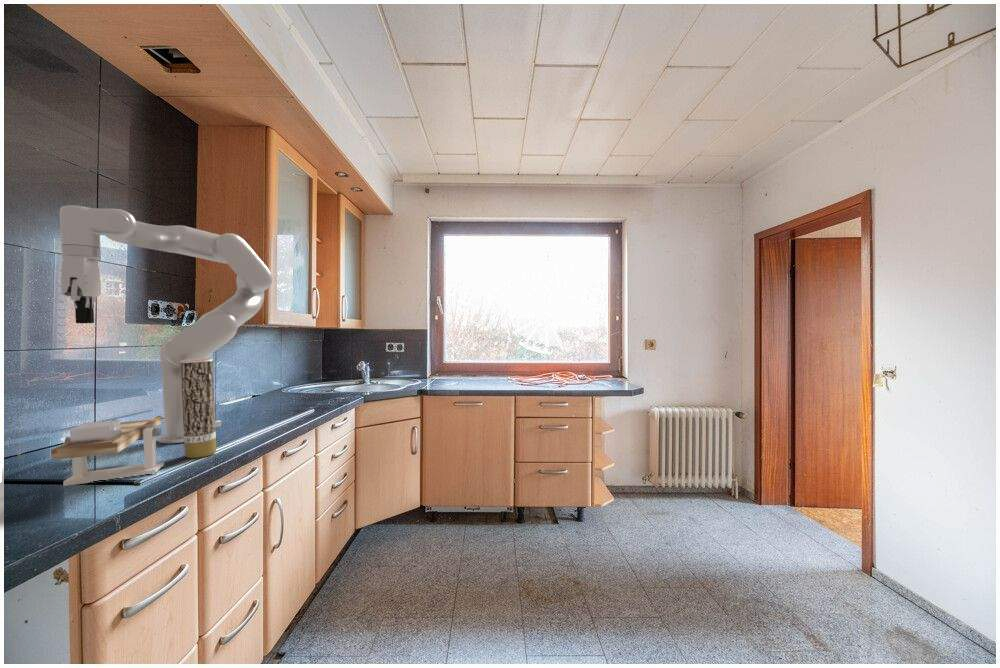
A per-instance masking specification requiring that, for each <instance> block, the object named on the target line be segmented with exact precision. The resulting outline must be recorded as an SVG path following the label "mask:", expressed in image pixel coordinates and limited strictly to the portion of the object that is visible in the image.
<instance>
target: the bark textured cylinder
mask: <svg viewBox="0 0 1000 668" xmlns="http://www.w3.org/2000/svg"><path fill="white" fill-rule="evenodd" d="M214 381H215V380H214V361H213V358H212V357H211V358H209V357H206V358H203V359H187V360H181V382H182V405H183V428H184V442H183V445H184V448H183V449H184V457H186V458H187V459H201V458H205V457H210V456H212V455H214V454H215V453H216V452H217V432H216V431H217V430H216V427H215V421H216V409H215V408H216V407H215V385H214Z"/></svg>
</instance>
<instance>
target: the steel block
mask: <svg viewBox="0 0 1000 668" xmlns="http://www.w3.org/2000/svg"><path fill="white" fill-rule="evenodd" d="M114 420H115V421H111V420H106V421H96V422H95V421H93V422H83V423H82V424H79V425H77V426H75V427H72V428H71V429H69V434H70V435H69V437H70V439H71V445H76V444H86V443H95V442H105V441H114V442H116V441H117V440H119V439H120V438H121V422H122V421H121V419H118V420H117V419H114Z"/></svg>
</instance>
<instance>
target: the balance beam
mask: <svg viewBox="0 0 1000 668" xmlns="http://www.w3.org/2000/svg"><path fill="white" fill-rule="evenodd" d="M115 420H116V419H112V420H110V421H115ZM161 424H162V415H157V416H155V417H153V418H152V419H143V420H142V419H141V420H133V421H131V420H130V421H121V438H120V439H119V440H117V441H116V442H114V441H105V442H95V443H86V444H76V445H71V440H70V441H68V442H66V443H65V442H64V443H63V444H61V445H58V446H57V447H55V448H53V449H51V450H50V451H51V452H50V453H51V461H57V460H65V459H72V458H76V457H85V456H87V457H93V456H94V457H95V456H102V455H103V456H104V455H111V454H119V453H120V452H122V451H123V450H124V449H125V448H127V447H128V446H130V445H132V444H133V443H134V442H137V441H143V430H144V429H146V428H151V427H155V428H158V426H160V425H161Z"/></svg>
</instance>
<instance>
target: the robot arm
mask: <svg viewBox="0 0 1000 668" xmlns="http://www.w3.org/2000/svg"><path fill="white" fill-rule="evenodd" d="M59 226H60V227H59V230H60V246H61V247H60V248H61V250H60V251H61V259H62V260H61V261H62V263H61V270H60V271H61V275H60V276H61V277H60V283H61V284H60V287H61V288H60V291H61V294H62V295H63V296H66V297H70V300H71V301H73V305H74V312H75V314H74V315H75V323H76V324H94V323H95V312H94V311H95V310H94V308H95V302H97V298H98V297H100V296H101V295H102V294H101V293H102V282H101V275H100V274H101V273H100V267H99V262H101V261H102V255H101V254H102V251H101V235H104V236H105V237H106V238H107V239H109V240H111V241H113V242H116V243H121V244H125V245H129V246H133V247H138V248H143V249H149V250H154V251H161V252H166V253H173V254H179V255H184V256H188V257H193V258H199V259H203V260H207V261H210V262H216V263H219V264H227V265H228V266H229V267H230V268H231V270H232V271H233V272H234V273H235V274H236V277H235V282H236V291H235V294H233V296H231V297H230V298H228V299H227V300H226V301H224V302H223V303H222V304H219V305H218V306H217V307H215V308H214V309H212V310H210V311H207V312H206V313H204V314H202V315H201V316H200V317H199V318H198V320H196V321H195V322H194V323H192V324H190V325H189V326H188V327H186V328H185V329H183V330H181V331H180V332H178V333H177V332H176V333H173V334H170V335H168V336H167V337H166V338H165V339H164V340H163V341H162V342H161V345H160V349H159V355H160V356H159V357H160V366H161V367H160V368H161V382H162V399H163V400H162V402H163V403H162V404H163V427H164V434H161V435H160V436H158V438H157V441H158V443H159V444H180V443H181V444H182V443H184V428H183V405H182V382H181V360H187V359H203V358H208V357H209V356H210V355H211V354H213V353H215V352H216V351H217V350H218V349H220V348H222V347H223V346H224V345H226V344H227V343H228V342H229V341H231V340H233V338H234V337H235V336H236V334H237V332H238V330H239V329H238V328H240V327H241V326H242V325H244V324H245V323H246V322H248V321H249V320H251V318H253V317H255V315H256V314H258V312H259V311H260V309H262V306H263V304H264V301H265V291H266V290H268V289H269V288H270V287H271V285H272V283H273V274H272V273H271V271H270V270H269V267H267V265H266V264H265V263H264V261H262V259H261V258H260V256H258V255H257V253H256V252H255V251H254V249H252V247H251V246H250V245H249V244H248V243H247V242H246V241H245V239H244V238H242V237H241V236H240V235H238V234H236V233H232V232H227V233H223V234H217V233H213V232H211V231H206V230H202V229H198V228H195V227H190V226H187V225H181V224H179V225H177V224H176V225H157V224H151V223H146V222H142V221H138V220H136V218H135V217H134V215H132V214H131V213H130V212H128V211H126V210H124V209H121V208H97V207H96V208H94V207H93V208H92V207H88V206H82V205H75V204H74V205H73V204H72V205H71V204H69V205H63V206H61V207H60V209H59ZM221 426H222V420H221V419H217V420H215V428H216V427H217V428H218V427H221Z"/></svg>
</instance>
